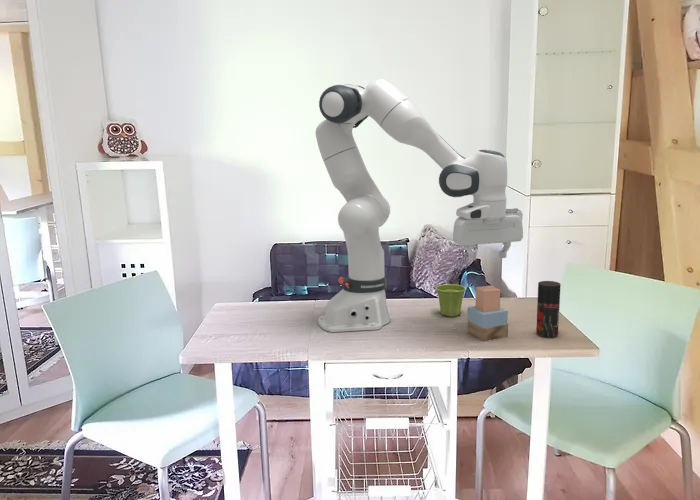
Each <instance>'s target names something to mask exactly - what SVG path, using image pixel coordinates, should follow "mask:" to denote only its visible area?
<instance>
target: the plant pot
mask: <svg viewBox="0 0 700 500" xmlns="http://www.w3.org/2000/svg"><path fill="white" fill-rule="evenodd" d="M466 289H467V288H466V287H465V286H464V285H462V284H461V285H460V284H454V283H453V284H452V283H451V284H448V283H447V284H440V285H437V286H435V290H436V293H437V295H438V300H439V302H438V303H439V310H440V314H441V315H442V316H446V317H456V316H458V315H459V316H460V315H461V311H462V304H463V303H462V302H463V299H464V294H465V291H466Z"/></svg>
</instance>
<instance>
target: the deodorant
mask: <svg viewBox="0 0 700 500" xmlns="http://www.w3.org/2000/svg"><path fill="white" fill-rule="evenodd" d="M537 283H538V284H537V306H536V307H537V308H536V330H535V331H536V333H535V334H536V336H538V337H541V338H543V339H555V338H557V337H558V336H559V321H560V304H561V301H560V300H561V283H560V282H558V281H553V280H541V281H539V282H537Z"/></svg>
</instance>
